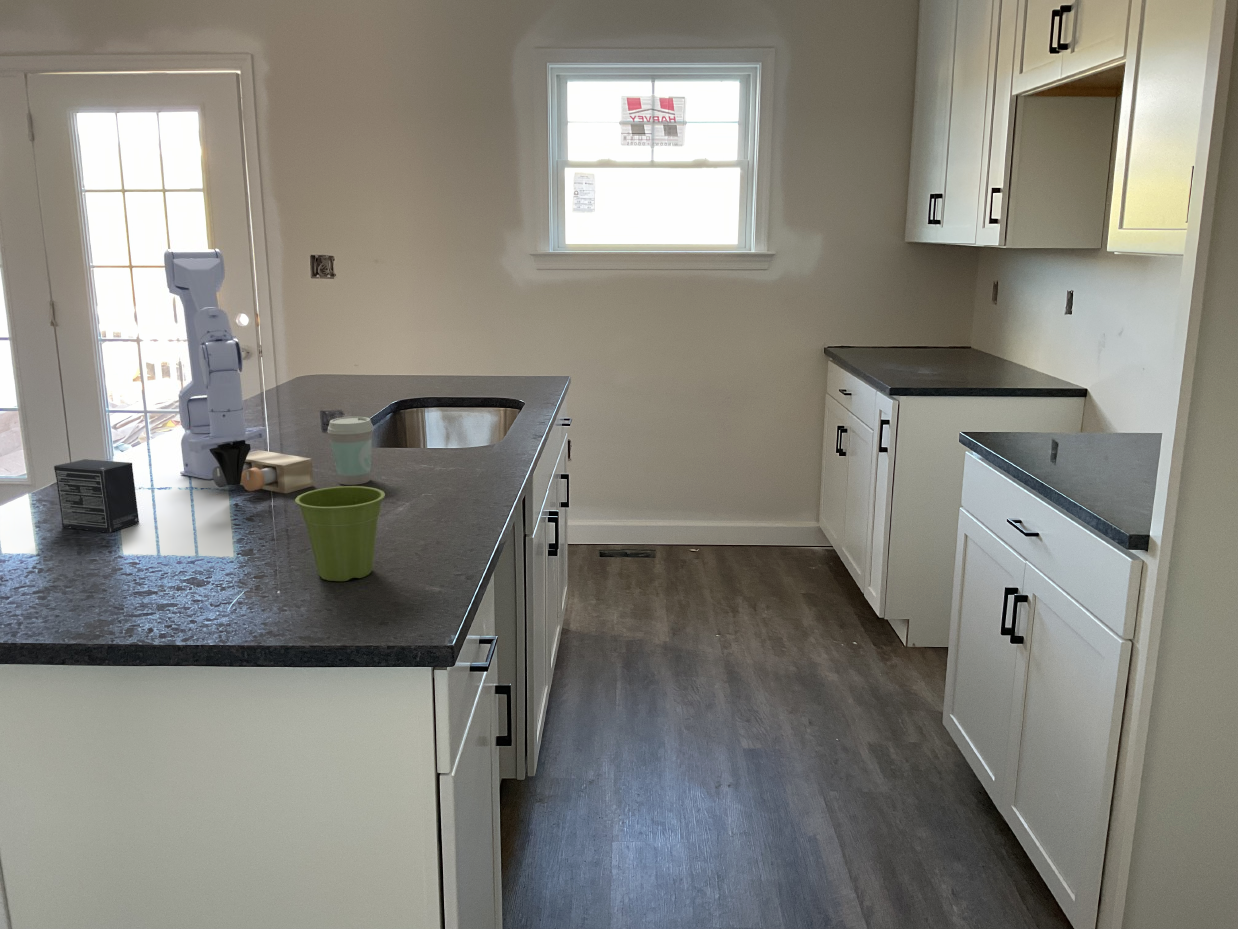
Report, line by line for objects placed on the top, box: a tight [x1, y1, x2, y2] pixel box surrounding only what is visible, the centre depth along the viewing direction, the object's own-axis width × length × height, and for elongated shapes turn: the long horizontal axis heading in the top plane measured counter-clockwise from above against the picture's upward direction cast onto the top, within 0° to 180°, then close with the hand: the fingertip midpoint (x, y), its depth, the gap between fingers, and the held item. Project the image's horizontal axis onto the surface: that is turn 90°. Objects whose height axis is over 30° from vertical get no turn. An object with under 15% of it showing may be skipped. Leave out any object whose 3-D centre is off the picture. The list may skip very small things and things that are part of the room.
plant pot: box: [294, 485, 386, 582], centre depth 134 cm, size 12×12×11 cm
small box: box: [53, 458, 140, 533], centre depth 158 cm, size 11×6×10 cm, turn 71°
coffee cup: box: [327, 416, 375, 486], centre depth 185 cm, size 9×8×12 cm
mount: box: [239, 449, 314, 494], centre depth 184 cm, size 15×6×5 cm, turn 58°
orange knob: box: [241, 466, 278, 492], centre depth 178 cm, size 7×4×4 cm, turn 148°
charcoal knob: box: [212, 462, 252, 488], centre depth 181 cm, size 7×4×4 cm, turn 148°
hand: (233, 484), depth 173 cm, fingers closed
